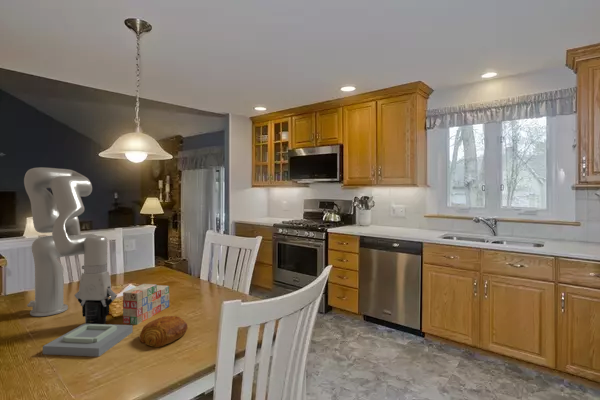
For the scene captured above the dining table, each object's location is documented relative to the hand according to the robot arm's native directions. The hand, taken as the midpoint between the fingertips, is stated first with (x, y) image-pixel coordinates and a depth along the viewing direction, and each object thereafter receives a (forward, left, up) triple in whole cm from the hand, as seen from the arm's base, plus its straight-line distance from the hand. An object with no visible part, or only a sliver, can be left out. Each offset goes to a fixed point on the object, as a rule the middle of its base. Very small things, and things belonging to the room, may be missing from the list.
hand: (95, 315), depth 125 cm
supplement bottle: (0, 0, -4) cm, 4 cm away
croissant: (+31, -9, -4) cm, 33 cm away
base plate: (+9, -15, -3) cm, 18 cm away
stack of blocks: (+14, +12, -4) cm, 19 cm away
